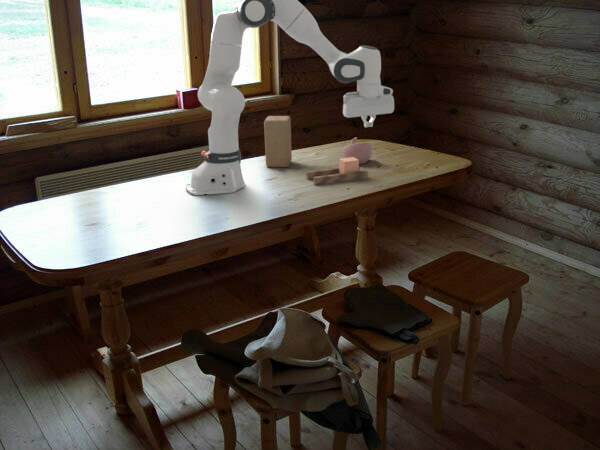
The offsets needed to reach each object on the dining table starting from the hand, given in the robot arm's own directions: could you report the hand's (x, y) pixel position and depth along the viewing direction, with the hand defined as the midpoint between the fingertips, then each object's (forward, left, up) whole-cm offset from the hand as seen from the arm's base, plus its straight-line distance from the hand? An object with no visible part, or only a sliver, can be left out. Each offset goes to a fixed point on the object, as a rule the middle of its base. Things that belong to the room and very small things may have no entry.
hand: (368, 126), depth 248 cm
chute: (-13, 0, -20) cm, 24 cm away
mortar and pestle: (+4, +18, -20) cm, 27 cm away
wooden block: (-26, +32, -20) cm, 46 cm away
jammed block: (-8, 0, -19) cm, 21 cm away
